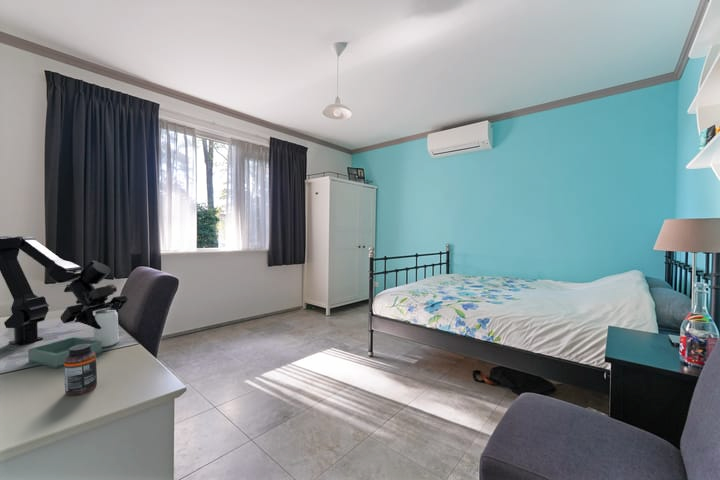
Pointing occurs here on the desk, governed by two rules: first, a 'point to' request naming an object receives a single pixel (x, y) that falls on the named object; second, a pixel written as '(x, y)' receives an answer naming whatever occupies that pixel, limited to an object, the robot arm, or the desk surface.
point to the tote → (59, 351)
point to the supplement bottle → (80, 370)
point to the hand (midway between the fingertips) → (109, 326)
